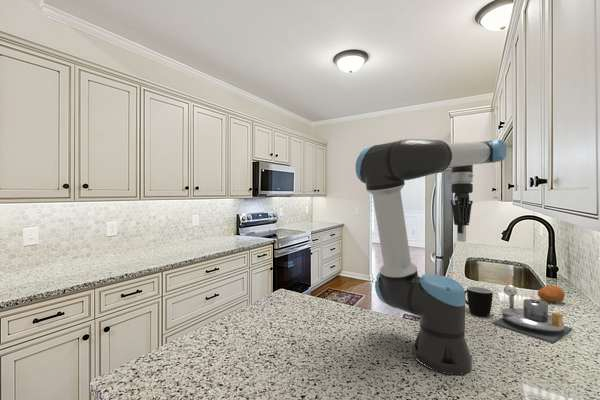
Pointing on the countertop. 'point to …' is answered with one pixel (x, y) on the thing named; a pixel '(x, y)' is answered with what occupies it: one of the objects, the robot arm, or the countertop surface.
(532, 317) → the cover
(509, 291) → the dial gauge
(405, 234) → the robot arm
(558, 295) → the potato
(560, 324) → the turntable
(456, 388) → the countertop surface
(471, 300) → the mug
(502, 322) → the turntable base
